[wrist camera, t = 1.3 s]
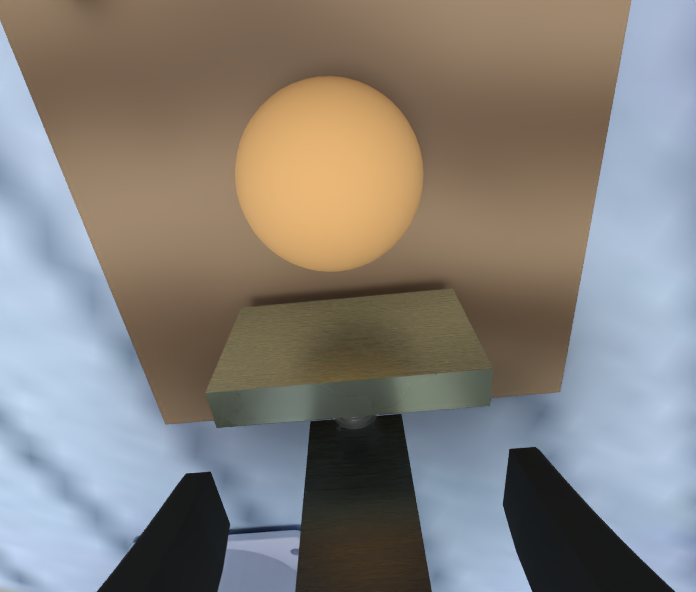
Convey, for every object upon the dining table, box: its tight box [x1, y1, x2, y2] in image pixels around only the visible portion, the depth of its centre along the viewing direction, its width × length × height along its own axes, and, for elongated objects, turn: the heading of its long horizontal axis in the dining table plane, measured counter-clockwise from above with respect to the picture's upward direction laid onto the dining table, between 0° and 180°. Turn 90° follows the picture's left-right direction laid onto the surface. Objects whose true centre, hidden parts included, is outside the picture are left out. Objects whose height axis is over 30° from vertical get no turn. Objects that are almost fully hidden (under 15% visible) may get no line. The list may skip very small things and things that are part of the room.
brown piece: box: [0, 0, 631, 424], centre depth 8 cm, size 20×14×6 cm
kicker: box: [205, 289, 493, 592], centre depth 10 cm, size 5×6×8 cm
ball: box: [235, 76, 424, 272], centre depth 9 cm, size 4×4×4 cm
